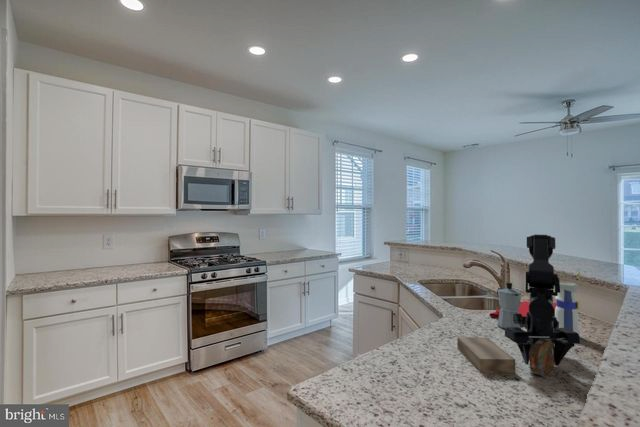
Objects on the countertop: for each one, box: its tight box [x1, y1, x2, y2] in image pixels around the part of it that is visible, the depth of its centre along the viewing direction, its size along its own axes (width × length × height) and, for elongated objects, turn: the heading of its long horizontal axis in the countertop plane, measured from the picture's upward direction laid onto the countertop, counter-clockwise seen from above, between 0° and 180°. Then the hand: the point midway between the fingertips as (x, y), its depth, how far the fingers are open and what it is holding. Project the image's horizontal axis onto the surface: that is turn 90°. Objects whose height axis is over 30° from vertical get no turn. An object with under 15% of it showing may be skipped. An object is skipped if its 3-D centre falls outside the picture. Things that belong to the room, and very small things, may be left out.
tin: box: [529, 338, 555, 377], centre depth 96 cm, size 15×3×8 cm, turn 130°
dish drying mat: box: [489, 299, 557, 320], centre depth 153 cm, size 16×41×4 cm, turn 123°
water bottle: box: [554, 269, 581, 335], centre depth 126 cm, size 8×9×25 cm
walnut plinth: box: [456, 336, 516, 374], centre depth 102 cm, size 10×17×4 cm, turn 178°
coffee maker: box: [496, 282, 523, 330], centre depth 135 cm, size 15×9×18 cm, turn 179°
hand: (541, 364), depth 96 cm, fingers open, 8 cm apart
